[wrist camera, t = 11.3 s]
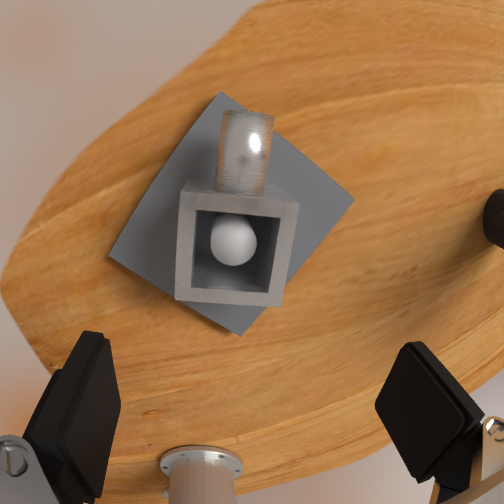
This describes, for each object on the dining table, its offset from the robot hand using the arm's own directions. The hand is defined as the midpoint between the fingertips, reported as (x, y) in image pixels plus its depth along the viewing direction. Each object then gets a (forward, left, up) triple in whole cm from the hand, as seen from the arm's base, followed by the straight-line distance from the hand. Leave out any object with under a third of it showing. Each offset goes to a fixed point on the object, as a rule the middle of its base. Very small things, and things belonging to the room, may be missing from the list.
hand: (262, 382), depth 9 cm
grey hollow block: (+2, +1, -17) cm, 17 cm away
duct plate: (0, 0, -18) cm, 18 cm away
